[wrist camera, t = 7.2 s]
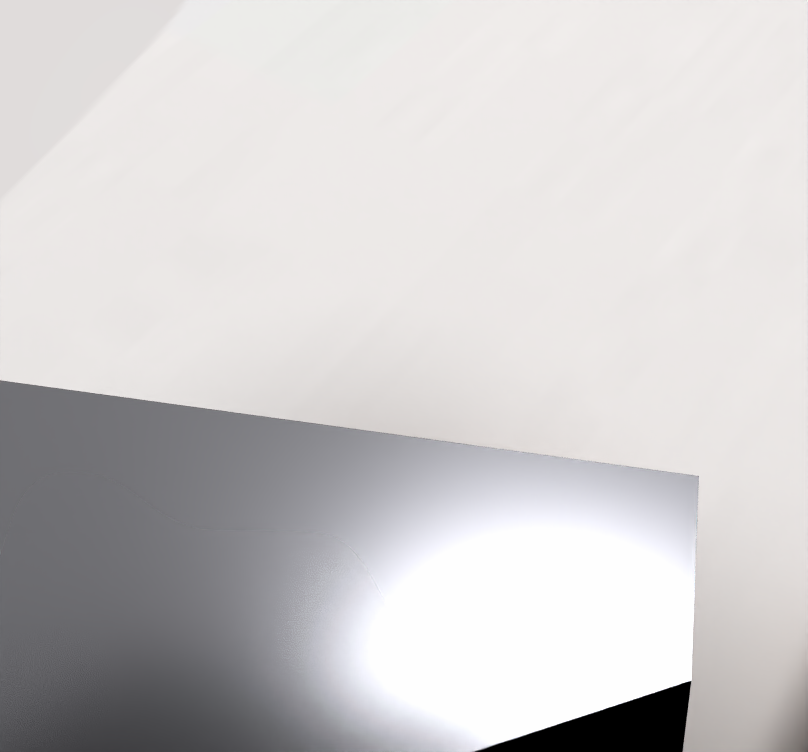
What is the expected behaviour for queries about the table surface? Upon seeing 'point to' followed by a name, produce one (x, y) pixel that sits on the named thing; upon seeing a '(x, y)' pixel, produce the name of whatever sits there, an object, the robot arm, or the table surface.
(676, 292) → the table surface
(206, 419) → the peg
